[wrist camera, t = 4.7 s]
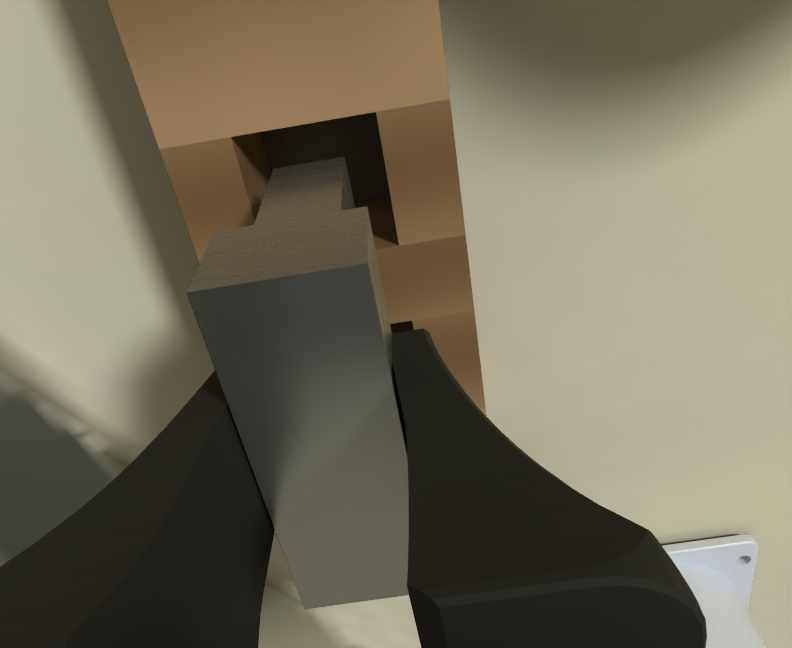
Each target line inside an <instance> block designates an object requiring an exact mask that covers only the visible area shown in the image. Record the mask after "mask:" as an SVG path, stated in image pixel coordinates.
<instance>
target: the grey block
mask: <svg viewBox="0 0 792 648" xmlns="http://www.w3.org/2000/svg"><path fill="white" fill-rule="evenodd" d="M187 295H188V298H189V301H190V303H191V306H192V309H193V311H194V314H195V317H196V319H197V322H198V325H199V327H200V330H201V333H202V335H203V338H204V341H205V343H206V346H207V349H208V352H209V354H210V357H211V360H212V362H213V365H214V368H215V370H216V373H217V376H218V378H219V381H220V384H221V386H222V389H223V392H224V394H225V397H226V400H227V402H228V405H229V408H230V411H231V413H232V416H233V419H234V421H235V424H236V427H237V429H238V432H239V435H240V437H241V440H242V443H243V445H244V448H245V451H246V453H247V456H248V459H249V462H250V464H251V467H252V470H253V472H254V475H255V478H256V480H257V483H258V486H259V488H260V491H261V494H262V496H263V499H264V502H265V504H266V507H267V510H268V512H269V515H270V518H271V521H272V523H273V526H274V529H275V531H276V534H277V537H278V539H279V542H280V545H281V547H282V550H283V553H284V555H285V558H286V561H287V563H288V566H289V569H290V571H291V574H292V577H293V580H294V582H295V585H296V588H297V590H298V593H299V596H300V598H301V601H302V604H303V606H304V609H309V608H317V607H324V606H331V605H338V604H346V603H353V602H360V601H368V600H375V599H382V598H389V597H397V596H404V595H409V593H408V588H407V574H408V541H409V493H408V458H407V435H406V430H405V425H404V420H403V415H402V410H401V405H400V400H399V395H398V390H397V385H396V380H395V375H394V370H393V365H392V331H391V326H390V321H389V316H388V311H387V306H386V300H385V295H384V290H383V285H382V280H381V275H380V270H379V264H378V259H377V254H376V249H375V244H374V239H373V234H372V228H371V223H370V218H369V213H368V208H367V206H366V207H360V208H355V205H354V200H353V195H352V190H351V185H350V180H349V176H348V171H347V166H346V161H345V157H339V158H333V159H327V160H321V161H315V162H310V163H304V164H298V165H292V166H286V167H280V168H274V169H273V170H272V173H271V176H270V179H269V182H268V185H267V188H266V191H265V194H264V197H263V200H262V203H261V206H260V209H259V212H258V215H257V217H256V220H255V223H254V225H251V226H245V227H239V228H233V229H227V230H221V231H215V232H214V233H213V235H212V237H211V240H210V242H209V244H208V246H207V248H206V251H205V253H204V255H203V257H202V259H201V262H200V264H199V266H198V268H197V270H196V273H195V275H194V277H193V279H192V281H191V284H190V286H189V288H188V290H187Z"/></svg>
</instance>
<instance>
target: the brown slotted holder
mask: <svg viewBox="0 0 792 648" xmlns="http://www.w3.org/2000/svg"><path fill="white" fill-rule="evenodd" d="M107 2H108V5H109V8H110V10H111V13H112V16H113V19H114V22H115V25H116V28H117V30H118V33H119V36H120V39H121V42H122V45H123V48H124V50H125V53H126V56H127V59H128V62H129V65H130V67H131V70H132V73H133V76H134V79H135V82H136V85H137V87H138V90H139V93H140V96H141V99H142V102H143V105H144V107H145V110H146V113H147V116H148V119H149V122H150V124H151V127H152V130H153V133H154V136H155V139H156V142H157V144H158V147H159V150H160V153H161V156H162V159H163V162H164V164H165V167H166V170H167V173H168V176H169V179H170V182H171V184H172V187H173V190H174V193H175V196H176V199H177V201H178V204H179V207H180V210H181V213H182V216H183V219H184V221H185V224H186V227H187V230H188V233H189V236H190V239H191V241H192V244H193V247H194V250H195V253H196V256H197V259H198V261H199V264H200V262H201V259H202V257H203V255H204V253H205V251H206V248H207V246H208V244H209V242H210V240H211V237H212V235H213V233H214V232H215V231H221V230H227V229H233V228H239V227H245V226H251V225H254V223H255V220H256V217H257V215H258V212H259V209H260V206H261V203H262V200H263V197H264V194H265V191H266V188H267V185H268V182H269V179H270V176H271V171H270V168H269V164H268V160H267V156H266V153H265V149H264V145H263V142H262V138H261V134H260V132H262V131H268V130H274V129H280V128H286V127H291V126H297V125H303V124H309V123H314V122H320V121H326V120H332V119H338V118H343V117H349V116H355V115H361V114H366V113H372V112H376V115H377V121H378V127H379V133H380V138H381V144H382V150H383V156H384V161H385V167H386V173H387V179H388V185H389V190H390V196H391V197H390V198H384V199H378V200H372V201H366V202H360V203H354V205H355V208H360V207H366V206H367V208H368V213H369V218H370V223H371V228H372V234H373V239H374V244H375V249H376V254H377V259H378V264H379V270H380V275H381V280H382V285H383V290H384V295H385V300H386V306H387V311H388V316H389V321H390V324H393V323H399V322H406V321H412V323H413V329H414V330H416V329H422V328H424V329H425V330H427V331H428V332H430V334H431V338H432V340H433V343H434V345H435V347H436V349H437V351H438V353H439V355H440V356H441V358H442V360H443V361H444V363H445V365H446V366H447V368H448V369H449V371H450V372H451V374H452V375H453V376H454V378H455V379H456V380H457V382H458V383H459V384H460V386H461V387H462V388H463V390H464V391H465V392H466V394H467V395H468V396H469V397H470V398H471V400H472V401H473V402H474V403H475V404H476V406H477V407H478V408H479V409H480V410H481V411H482V412H483V413H484V415H485V416H486V409H485V400H484V392H483V383H482V374H481V366H480V357H479V348H478V340H477V331H476V322H475V314H474V305H473V296H472V288H471V279H470V270H469V262H468V253H467V244H466V236H465V227H464V218H463V210H462V201H461V192H460V184H459V175H458V166H457V158H456V149H455V140H454V132H453V123H452V114H451V106H450V97H449V88H448V80H447V71H446V62H445V54H444V45H443V36H442V28H441V19H440V10H439V2H438V0H107Z"/></svg>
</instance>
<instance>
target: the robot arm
mask: <svg viewBox="0 0 792 648" xmlns="http://www.w3.org/2000/svg"><path fill="white" fill-rule="evenodd" d="M392 365H393V370H394V375H395V380H396V385H397V390H398V395H399V400H400V405H401V410H402V415H403V420H404V425H405V430H406V435H407V458H408V493H409V541H408V574H407V588H408V593H409V597H410V601H411V605H412V609H413V614H414V618H415V622H416V626H417V631H418V635H419V639H420V643H421V648H766V646H765V644H764V643H763V641H762V639H761V637H760V635H759V633H758V632H757V630H756V628H755V626H754V624H753V622H752V620H751V619H750V617H749V615H748V613H747V608H748V603H749V598H750V592H751V587H752V581H753V576H754V570H755V565H756V559H757V554H758V544H757V543H756V541H755V539H754V538H753V537H752V536H750V535H735V536H728V537H721V538H713V539H706V540H699V541H691V542H684V543H677V544H669V545H661V544H660V543H659V541H658V540H657V539H656V538H655V536H654V535H653V534H652V532H651V531H649V530H648V529H646V528H644V527H642V526H640V525H638V524H636V523H634V522H632V521H630V520H628V519H626V518H624V517H622V516H620V515H618V514H616V513H614V512H612V511H610V510H608V509H606V508H604V507H602V506H600V505H598V504H597V503H595V502H593V501H592V500H590V499H588V498H587V497H585V496H584V495H582V494H580V493H579V492H577V491H575V490H574V489H572V488H571V487H570V486H568V485H567V484H566V483H564V482H563V481H561V480H560V479H559V478H557V477H556V476H554V475H553V474H552V473H550V472H549V471H547V470H546V469H545V468H543V467H542V466H540V465H539V464H538V463H536V462H535V461H534V460H533V459H531V458H530V457H529V456H528V455H527V454H525V453H524V452H523V451H522V450H521V449H520V448H518V447H517V446H516V445H515V444H514V443H513V442H512V441H511V440H510V439H508V438H507V437H506V436H505V435H504V434H503V433H502V432H501V431H500V430H499V429H498V428H497V427H496V426H495V425H494V424H493V423H492V422H491V421H490V420H489V419H488V418H487V417H486V416H485V415H484V413H483V412H482V411H481V410H480V409H479V408H478V407H477V406H476V404H475V403H474V402H473V401H472V400H471V398H470V397H469V396H468V395H467V394H466V392H465V391H464V390H463V388H462V387H461V386H460V384H459V383H458V382H457V380H456V379H455V378H454V376H453V375H452V374H451V372H450V371H449V369H448V368H447V366H446V365H445V363H444V361H443V360H442V358H441V356H440V355H439V353H438V351H437V349H436V347H435V345H434V343H433V340H432V338H431V334H430V332H428V331H427V330H425V329H424V328H422V329H416V330H409V331H403V332H397V333H392ZM274 530H275V529H274V526H273V523H272V521H271V518H270V515H269V512H268V510H267V507H266V504H265V502H264V499H263V496H262V494H261V491H260V488H259V486H258V483H257V480H256V478H255V475H254V472H253V470H252V467H251V464H250V462H249V459H248V456H247V453H246V451H245V448H244V445H243V443H242V440H241V437H240V435H239V432H238V429H237V427H236V424H235V421H234V419H233V416H232V413H231V411H230V408H229V405H228V402H227V400H226V397H225V394H224V392H223V389H222V386H221V384H220V381H219V378H218V376H217V373H216V370H215V371H214V372H213V373H212V375H211V376H210V377H209V378H208V379H207V380H206V382H205V383H204V384H203V385H202V386H201V388H200V389H199V390H198V391H197V392H196V393H195V395H194V396H193V397H192V398H191V399H190V400H189V402H188V403H187V404H186V405H185V406H184V407H183V408H182V410H181V411H180V412H179V413H178V414H177V415H176V416H175V418H174V419H173V420H172V421H171V422H170V423H169V424H168V426H167V427H166V428H165V429H164V430H163V431H162V432H161V433H160V434H159V435H158V436H157V437H156V438H155V439H154V440H153V441H152V442H151V443H150V444H149V445H148V446H147V447H146V448H145V450H144V451H143V452H142V453H141V454H140V455H139V456H138V457H137V458H136V459H135V460H134V461H133V462H132V463H131V464H130V465H129V466H128V467H127V468H126V469H125V470H124V471H123V472H122V473H121V474H119V475H118V476H117V477H116V478H115V479H114V480H113V481H112V482H111V483H110V484H109V485H107V486H106V487H105V488H104V489H103V490H102V491H101V492H99V493H98V494H97V495H96V496H95V497H93V498H92V499H91V500H90V501H89V502H88V503H86V504H85V505H84V506H83V507H82V508H81V509H79V510H78V511H77V512H75V513H74V514H73V515H71V516H70V517H69V518H67V519H66V520H65V521H63V522H62V523H61V524H59V525H58V526H57V527H55V528H54V529H53V530H52V531H50V532H49V533H48V534H46V535H45V536H44V537H42V538H41V539H40V540H38V541H37V542H36V543H34V544H33V545H32V546H30V547H29V548H27V549H26V550H24V551H23V552H21V553H20V554H19V555H17V556H16V557H14V558H13V559H11V560H10V561H8V562H7V563H5V564H4V565H2V566H1V567H0V648H258V639H259V625H260V613H261V606H262V598H263V591H264V585H265V580H266V574H267V569H268V563H269V558H270V552H271V547H272V541H273V536H274Z"/></svg>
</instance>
